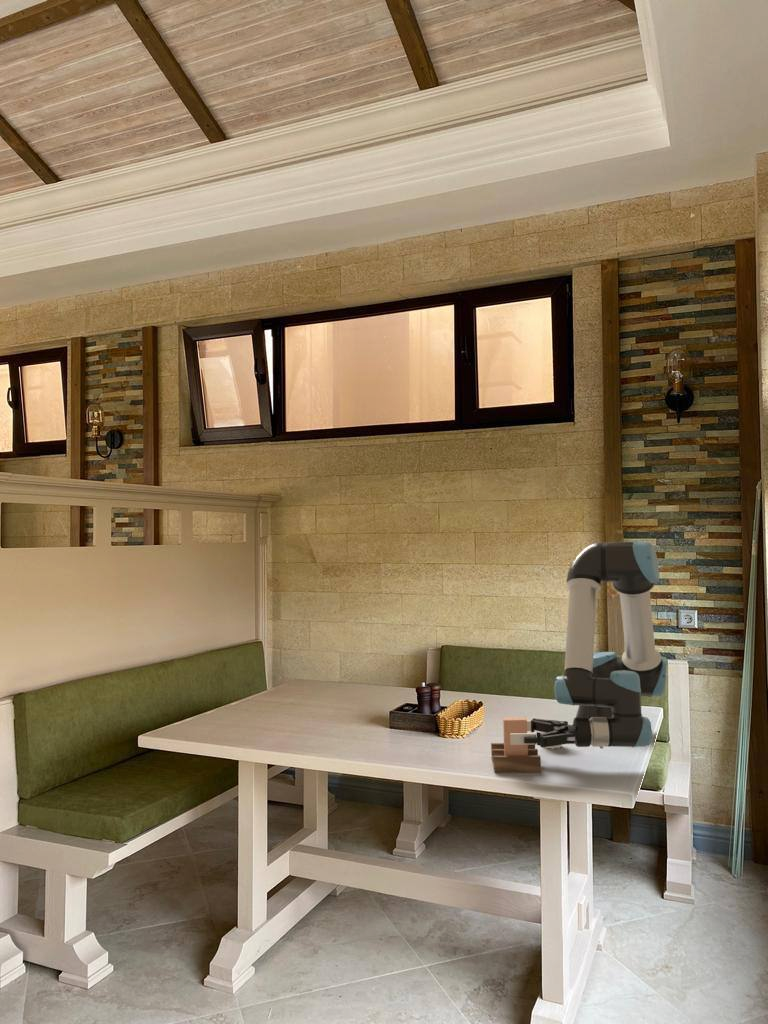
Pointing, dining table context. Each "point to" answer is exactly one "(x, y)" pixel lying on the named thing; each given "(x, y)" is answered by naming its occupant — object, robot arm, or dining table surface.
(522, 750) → the tile
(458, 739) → the dining table surface
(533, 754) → the rack
